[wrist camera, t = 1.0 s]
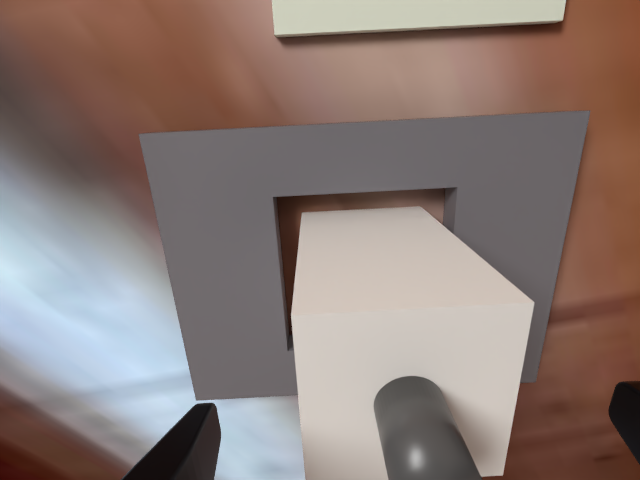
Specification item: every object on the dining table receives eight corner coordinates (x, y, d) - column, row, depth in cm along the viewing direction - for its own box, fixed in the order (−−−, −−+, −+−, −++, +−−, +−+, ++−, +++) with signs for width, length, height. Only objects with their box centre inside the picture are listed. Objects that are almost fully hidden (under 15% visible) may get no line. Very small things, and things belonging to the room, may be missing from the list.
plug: (420, 206, 15) (614, 369, 5) (414, 309, 16) (554, 573, 7) (301, 212, 15) (283, 387, 5) (308, 315, 16) (304, 587, 7)
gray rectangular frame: (567, 111, 13) (590, 110, 12) (521, 365, 17) (535, 382, 16) (153, 132, 13) (138, 134, 12) (203, 382, 17) (196, 400, 16)
